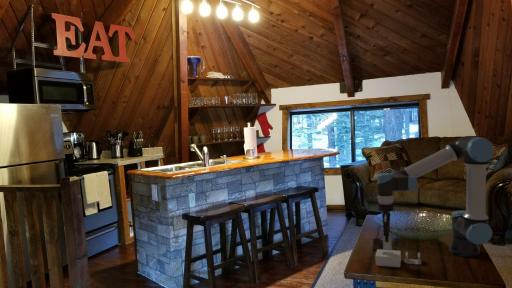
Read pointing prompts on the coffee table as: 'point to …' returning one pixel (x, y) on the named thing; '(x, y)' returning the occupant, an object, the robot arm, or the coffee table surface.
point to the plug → (390, 243)
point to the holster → (412, 261)
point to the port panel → (388, 258)
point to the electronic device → (377, 244)
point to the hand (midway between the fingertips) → (387, 246)
